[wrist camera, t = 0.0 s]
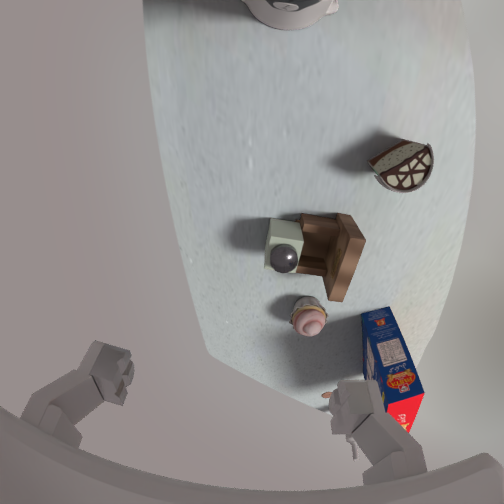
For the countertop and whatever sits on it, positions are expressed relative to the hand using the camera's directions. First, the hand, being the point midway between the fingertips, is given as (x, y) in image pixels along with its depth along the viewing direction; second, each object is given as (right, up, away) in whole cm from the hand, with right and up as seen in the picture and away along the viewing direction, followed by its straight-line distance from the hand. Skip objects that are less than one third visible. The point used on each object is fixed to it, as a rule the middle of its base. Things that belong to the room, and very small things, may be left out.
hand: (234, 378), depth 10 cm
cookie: (+27, -45, +81) cm, 96 cm away
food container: (+29, +23, +41) cm, 55 cm away
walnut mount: (+14, +7, +51) cm, 53 cm away
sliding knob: (+7, +8, +50) cm, 52 cm away
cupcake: (+14, -8, +60) cm, 62 cm away
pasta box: (+37, -22, +67) cm, 79 cm away
